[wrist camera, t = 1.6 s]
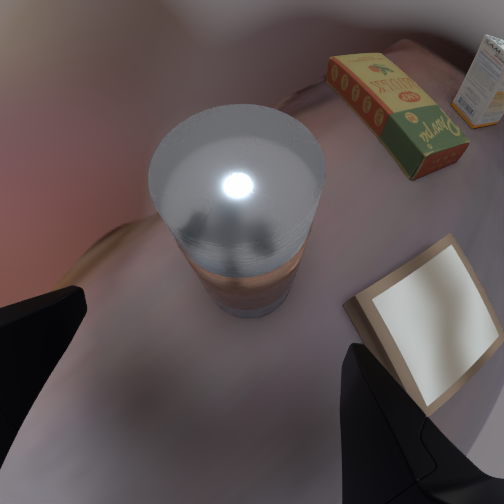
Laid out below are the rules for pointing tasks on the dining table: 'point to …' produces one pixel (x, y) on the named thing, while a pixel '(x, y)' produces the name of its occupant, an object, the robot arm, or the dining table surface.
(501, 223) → the dining table surface
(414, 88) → the carton
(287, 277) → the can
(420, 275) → the board
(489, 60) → the supplement box
